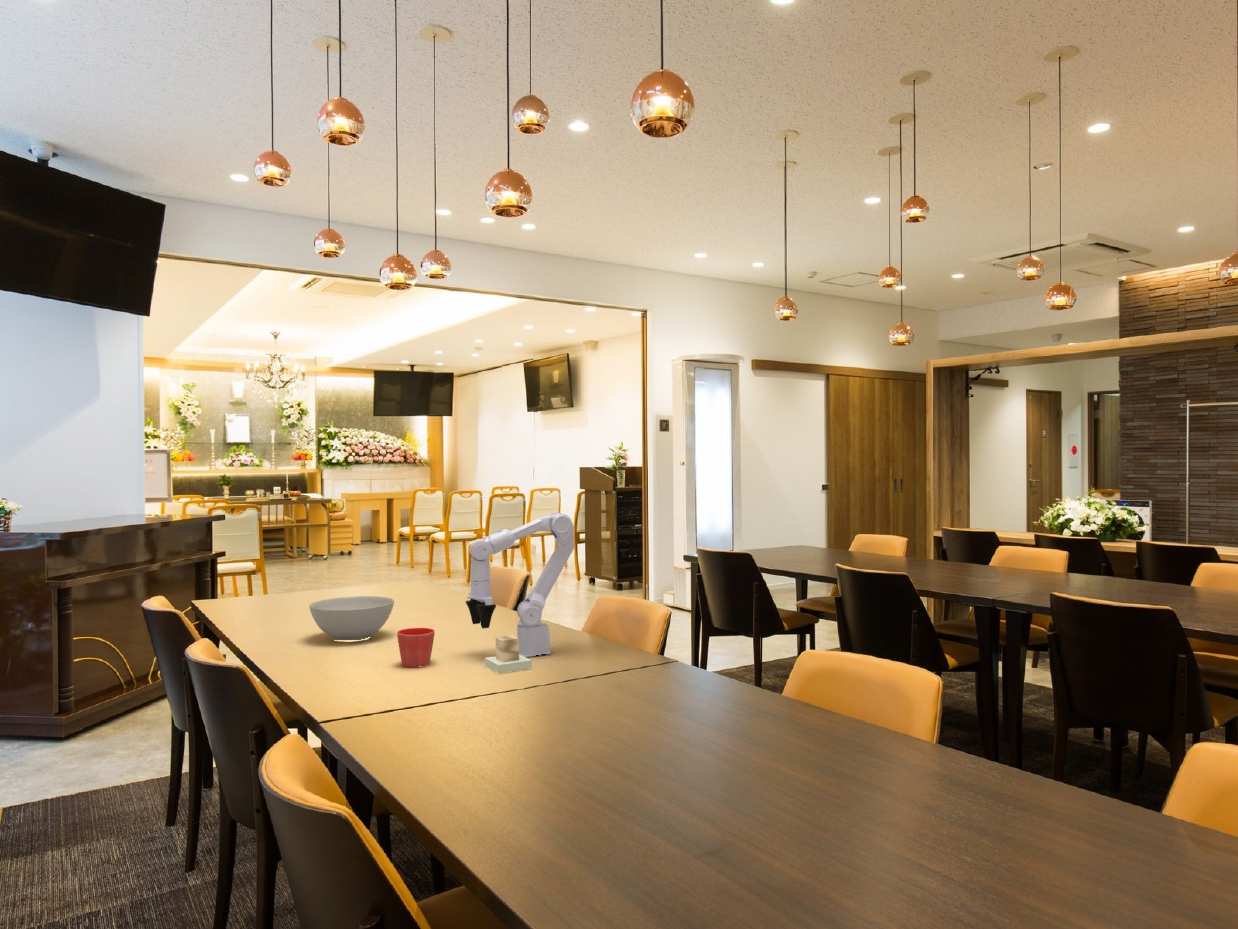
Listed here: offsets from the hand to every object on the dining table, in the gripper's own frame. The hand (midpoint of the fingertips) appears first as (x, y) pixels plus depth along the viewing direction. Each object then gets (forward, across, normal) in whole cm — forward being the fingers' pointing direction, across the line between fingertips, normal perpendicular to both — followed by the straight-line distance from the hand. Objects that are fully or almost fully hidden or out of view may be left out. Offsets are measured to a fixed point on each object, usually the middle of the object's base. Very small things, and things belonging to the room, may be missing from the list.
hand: (480, 625), depth 243 cm
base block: (+10, +16, +2) cm, 19 cm away
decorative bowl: (+10, -48, -27) cm, 56 cm away
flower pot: (+10, -2, -19) cm, 21 cm away
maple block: (+7, +16, +2) cm, 18 cm away
